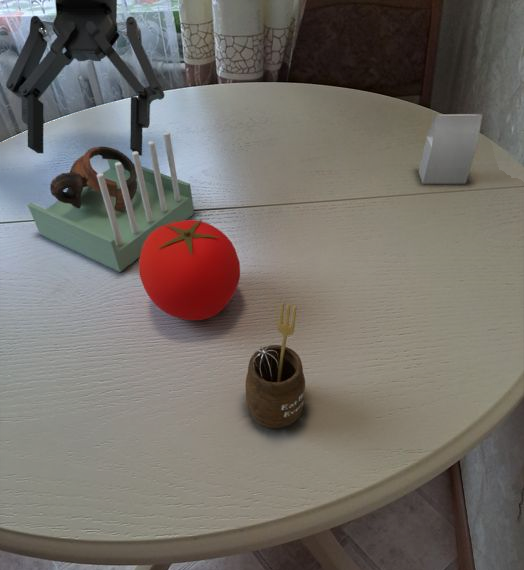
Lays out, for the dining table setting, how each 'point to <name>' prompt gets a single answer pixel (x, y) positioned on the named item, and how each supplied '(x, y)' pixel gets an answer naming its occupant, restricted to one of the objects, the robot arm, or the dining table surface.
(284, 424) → the utensil holder
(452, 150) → the grey block
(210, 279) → the tomato
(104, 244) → the dish rack
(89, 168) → the brown curved ring piece
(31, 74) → the robot arm
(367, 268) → the dining table surface
